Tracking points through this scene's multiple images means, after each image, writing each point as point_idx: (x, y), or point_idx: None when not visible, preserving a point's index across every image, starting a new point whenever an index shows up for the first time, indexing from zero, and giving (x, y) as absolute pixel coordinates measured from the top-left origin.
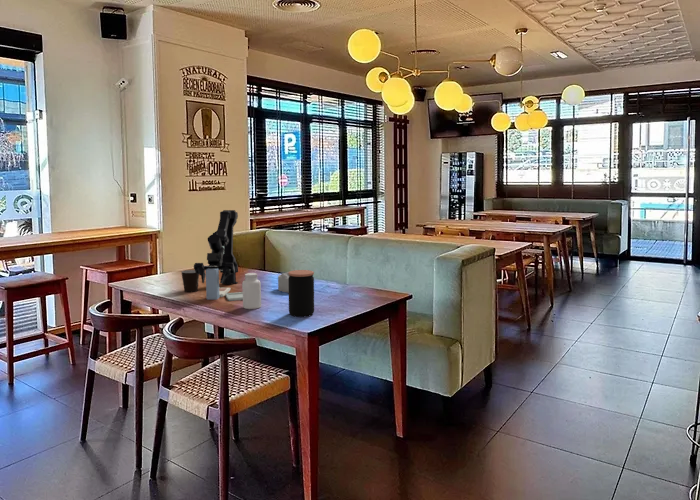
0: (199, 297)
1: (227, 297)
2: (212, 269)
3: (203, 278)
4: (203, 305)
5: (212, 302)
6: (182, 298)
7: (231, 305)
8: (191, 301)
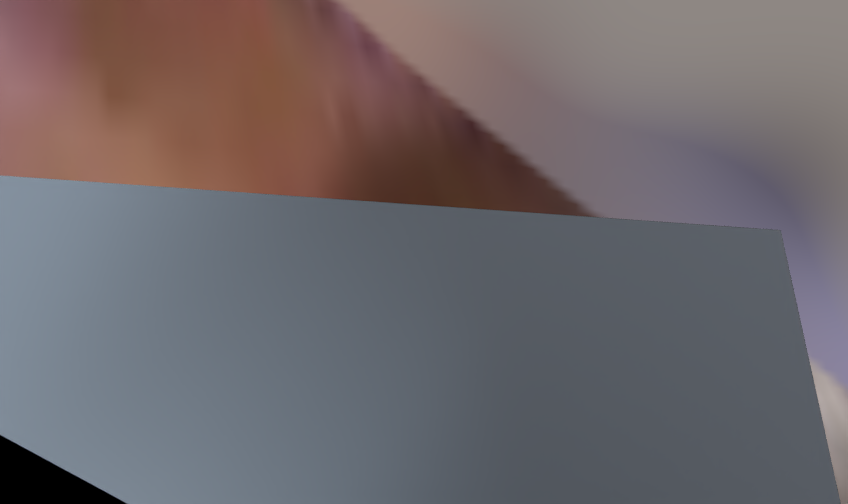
0: None
1: None
2: (369, 489)
3: None
4: (405, 81)
5: (339, 192)
6: None
7: (109, 52)
8: None
